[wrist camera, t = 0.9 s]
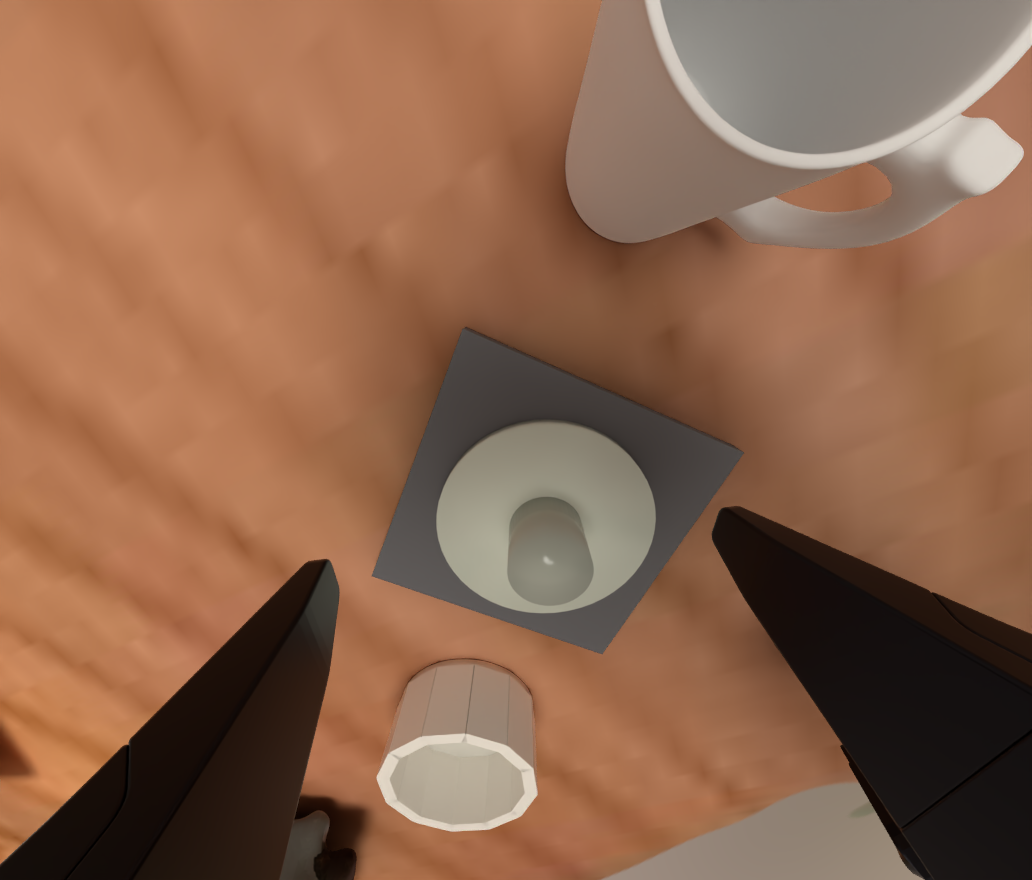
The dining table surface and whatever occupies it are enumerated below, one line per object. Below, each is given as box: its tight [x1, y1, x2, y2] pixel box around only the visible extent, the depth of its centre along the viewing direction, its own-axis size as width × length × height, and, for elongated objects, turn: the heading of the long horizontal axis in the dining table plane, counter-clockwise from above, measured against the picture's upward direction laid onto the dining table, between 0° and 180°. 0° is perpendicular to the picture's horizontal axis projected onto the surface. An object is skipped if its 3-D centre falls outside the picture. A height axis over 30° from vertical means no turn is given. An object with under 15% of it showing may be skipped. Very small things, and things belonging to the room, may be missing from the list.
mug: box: [565, 0, 1032, 249], centre depth 11 cm, size 10×7×12 cm, turn 54°
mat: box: [372, 327, 744, 654], centre depth 22 cm, size 16×16×1 cm
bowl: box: [377, 659, 538, 831], centre depth 26 cm, size 10×10×5 cm
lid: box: [436, 419, 656, 613], centre depth 20 cm, size 12×12×4 cm
